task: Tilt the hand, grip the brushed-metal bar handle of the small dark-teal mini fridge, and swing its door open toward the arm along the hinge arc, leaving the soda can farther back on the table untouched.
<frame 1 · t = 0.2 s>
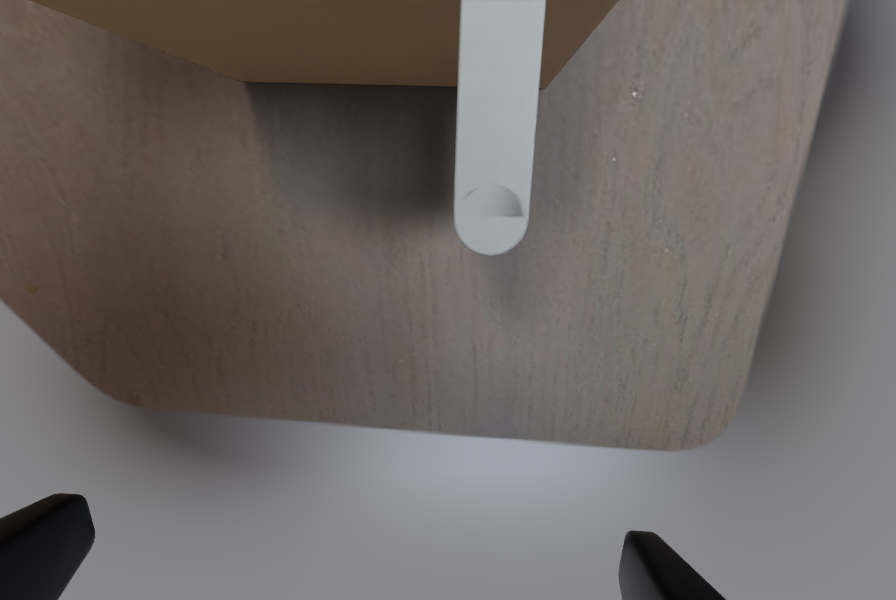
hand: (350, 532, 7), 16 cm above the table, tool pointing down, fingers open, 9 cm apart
fridge door: (356, 122, 15), point 6 cm above the table, hinge at 0.0°
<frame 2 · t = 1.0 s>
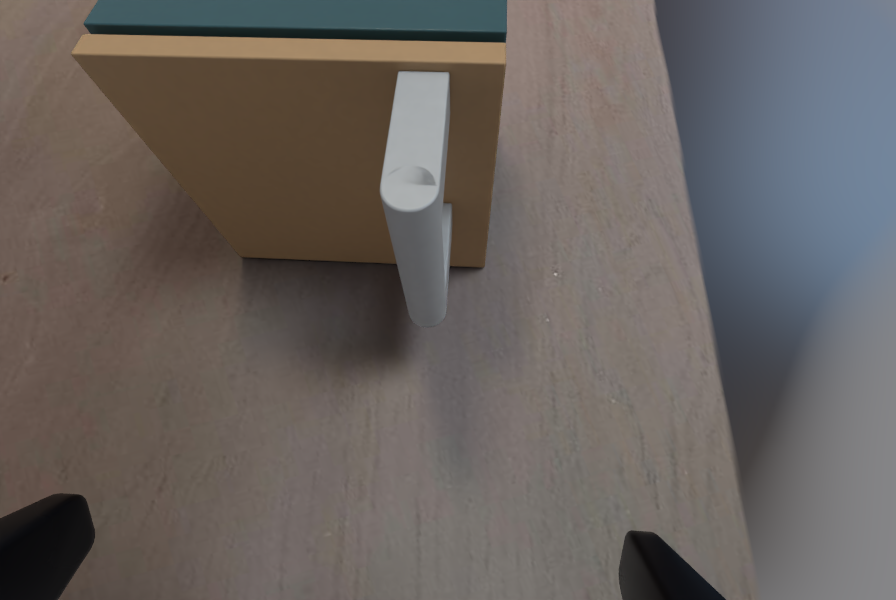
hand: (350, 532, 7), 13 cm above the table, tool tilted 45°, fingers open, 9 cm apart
fridge: (376, 175, 28), on the table
fridge door: (324, 231, 18), point 6 cm above the table, hinge at 0.0°
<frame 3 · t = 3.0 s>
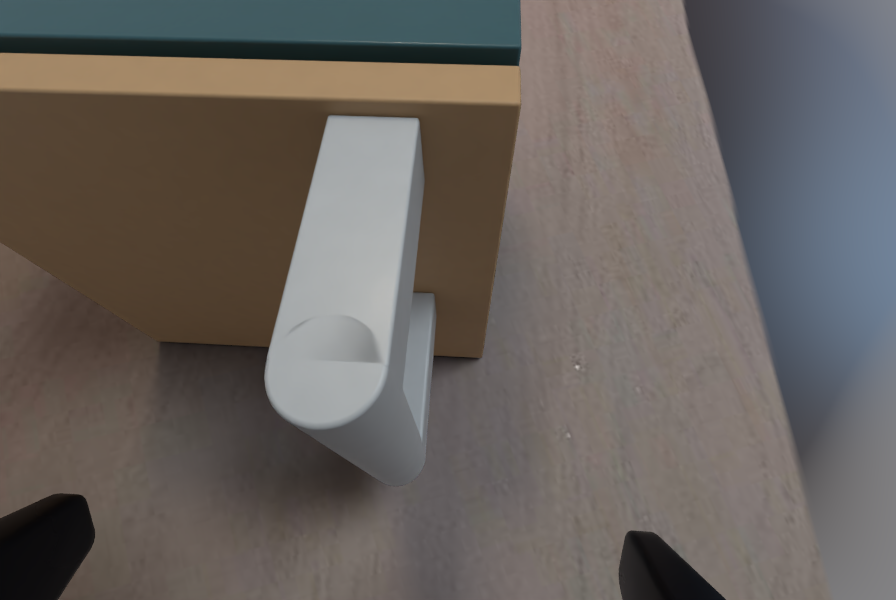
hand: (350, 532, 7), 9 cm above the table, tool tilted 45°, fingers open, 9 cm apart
fridge: (342, 228, 22), on the table
fridge door: (239, 343, 12), point 6 cm above the table, hinge at 0.0°
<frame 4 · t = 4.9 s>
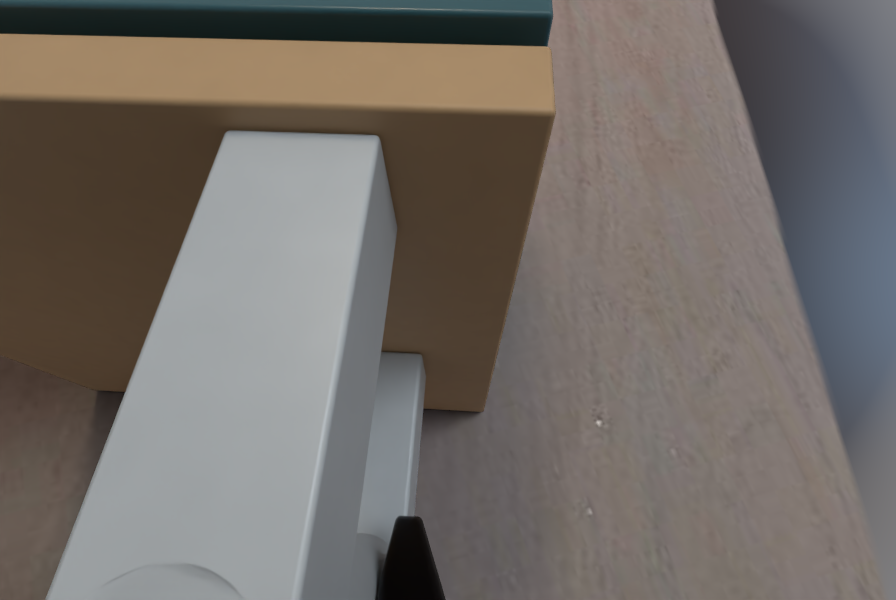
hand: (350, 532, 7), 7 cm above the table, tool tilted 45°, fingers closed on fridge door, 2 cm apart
fridge: (319, 249, 18), on the table
fridge door: (156, 431, 9), point 6 cm above the table, hinge at 0.0°, touching gripper
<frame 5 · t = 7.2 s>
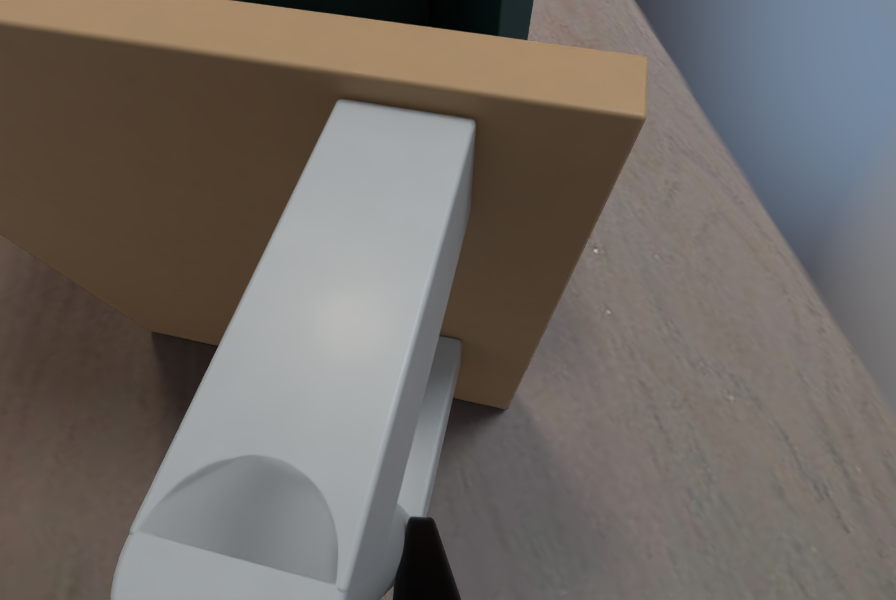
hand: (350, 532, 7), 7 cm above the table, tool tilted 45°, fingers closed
fridge: (321, 177, 20), on the table
fridge door: (210, 371, 10), point 6 cm above the table, hinge at 24.9°, touching gripper
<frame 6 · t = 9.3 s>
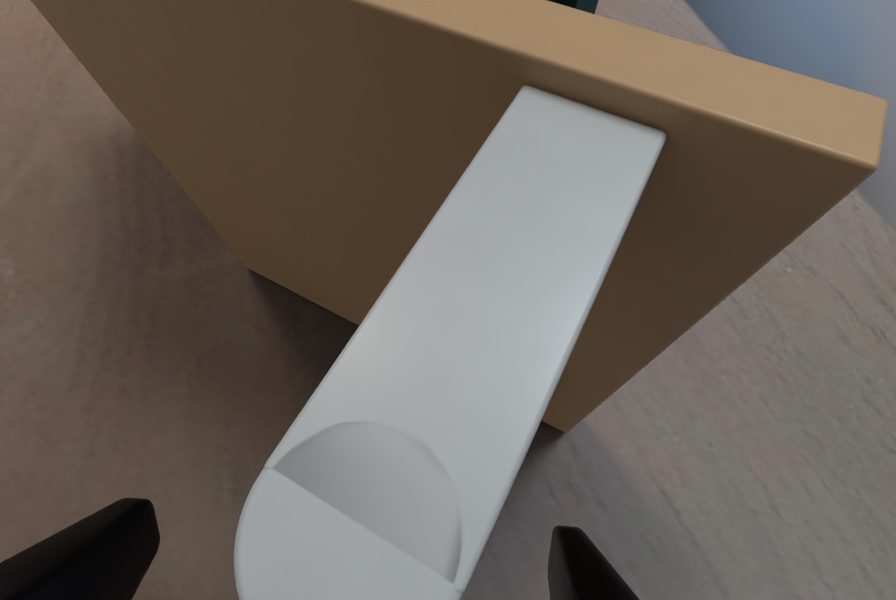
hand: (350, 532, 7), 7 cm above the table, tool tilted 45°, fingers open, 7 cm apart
fridge: (380, 123, 22), on the table
fridge door: (304, 321, 10), point 6 cm above the table, hinge at 47.1°
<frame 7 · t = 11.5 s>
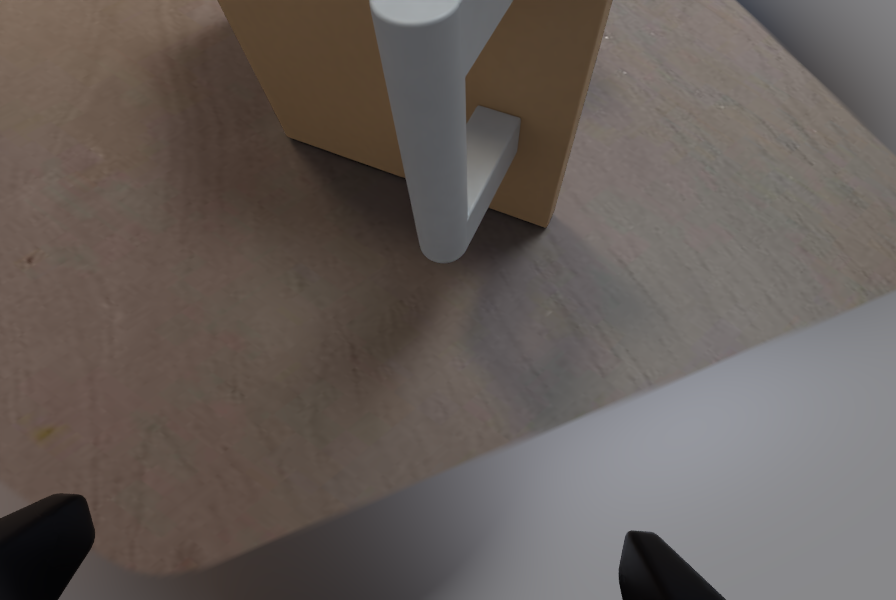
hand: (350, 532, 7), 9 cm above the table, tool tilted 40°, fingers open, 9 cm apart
fridge door: (351, 105, 15), point 6 cm above the table, hinge at 47.1°
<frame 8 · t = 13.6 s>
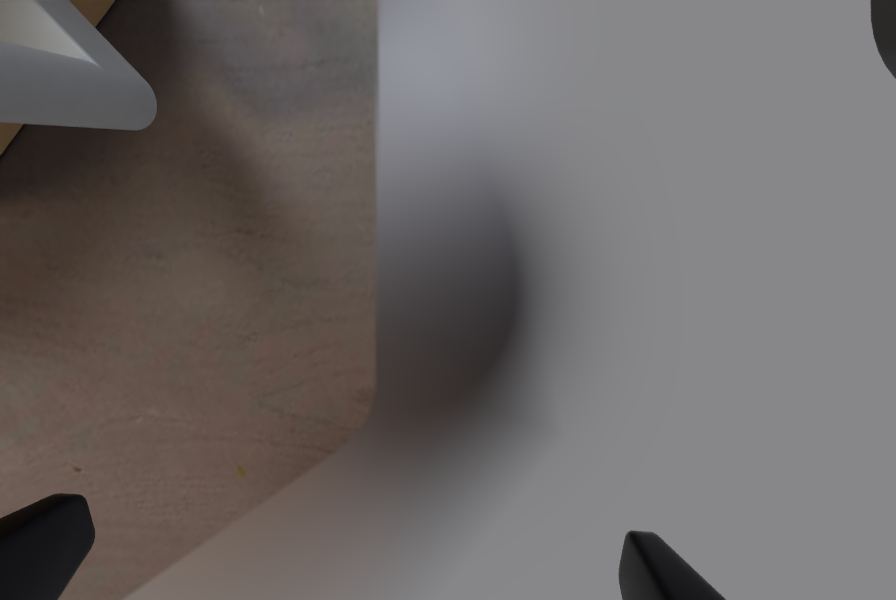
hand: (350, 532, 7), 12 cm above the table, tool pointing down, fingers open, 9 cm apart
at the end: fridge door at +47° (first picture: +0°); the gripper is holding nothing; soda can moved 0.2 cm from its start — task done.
